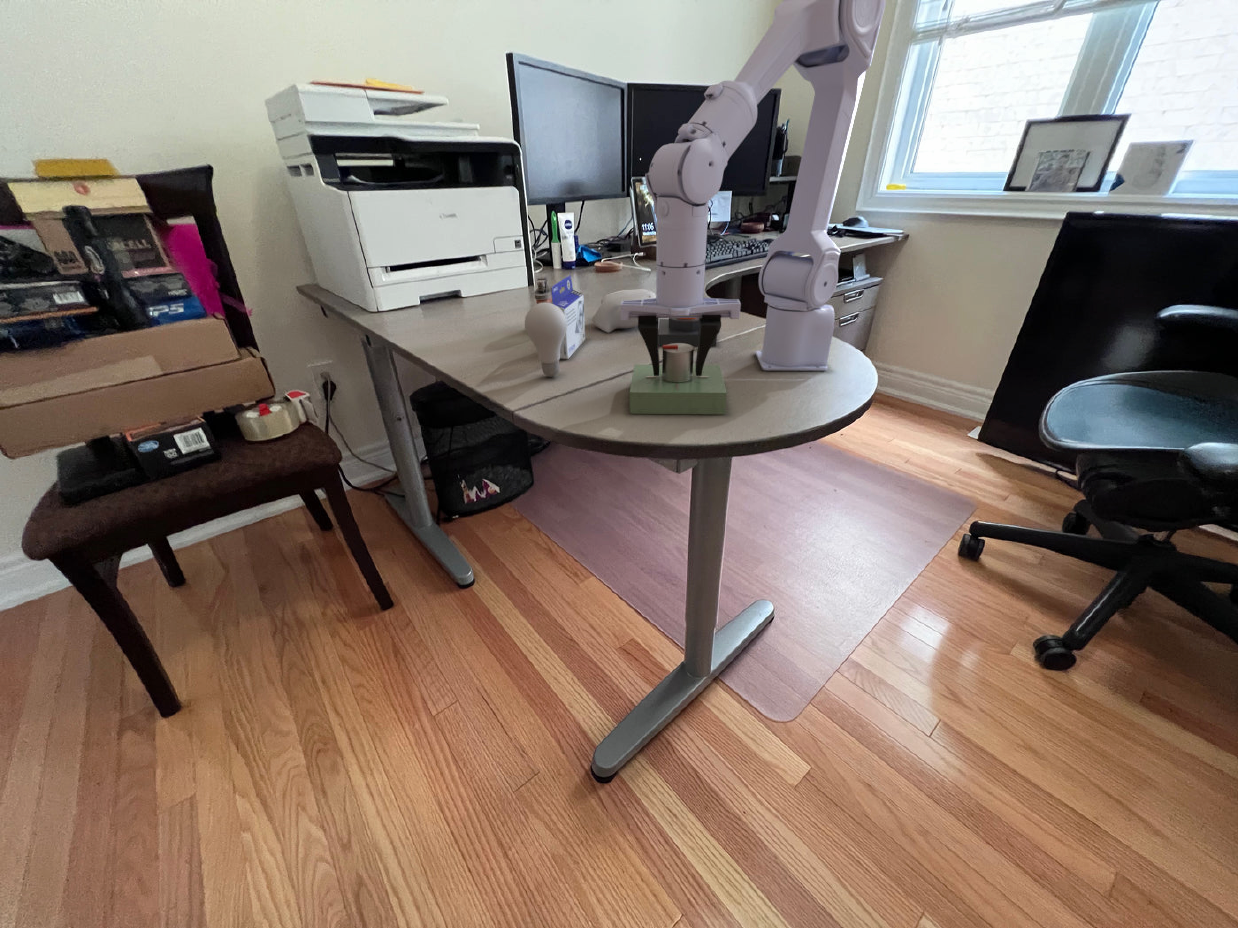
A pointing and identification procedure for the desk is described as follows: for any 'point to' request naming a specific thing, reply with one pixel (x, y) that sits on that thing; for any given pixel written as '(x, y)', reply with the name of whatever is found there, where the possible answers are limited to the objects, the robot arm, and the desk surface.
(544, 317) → the lightbulb
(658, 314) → the robot arm
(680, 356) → the lock knob
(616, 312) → the shell shaped sculpture
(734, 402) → the desk surface
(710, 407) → the panel
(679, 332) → the button base
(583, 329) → the ink box
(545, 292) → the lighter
